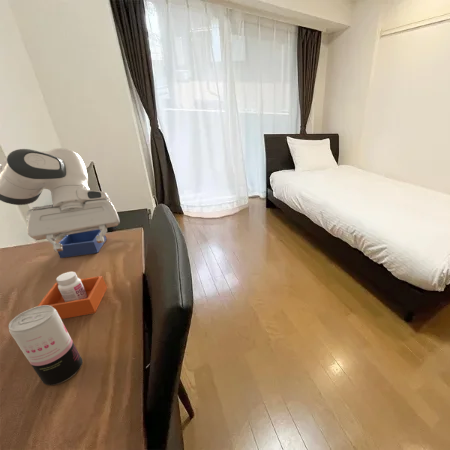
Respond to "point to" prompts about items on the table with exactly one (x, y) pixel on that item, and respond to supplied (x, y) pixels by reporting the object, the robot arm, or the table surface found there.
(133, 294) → the table surface
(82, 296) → the pill bottle
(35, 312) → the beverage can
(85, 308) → the terracotta bin
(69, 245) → the blue bin
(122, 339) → the table surface
